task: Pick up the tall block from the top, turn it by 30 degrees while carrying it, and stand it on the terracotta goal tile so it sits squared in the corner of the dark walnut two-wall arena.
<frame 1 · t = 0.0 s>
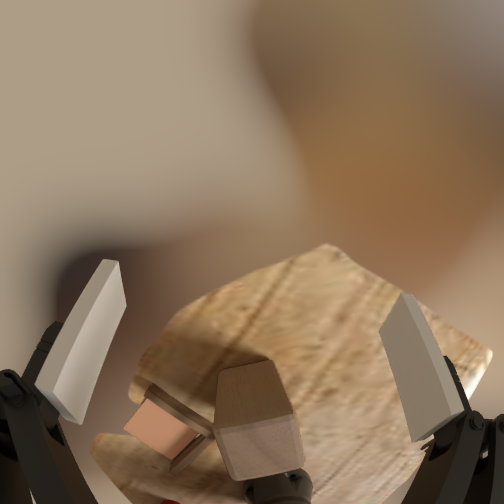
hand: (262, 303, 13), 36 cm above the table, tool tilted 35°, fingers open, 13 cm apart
goal tile: (161, 428, 47), on the table
block: (251, 386, 48), on the table
arena: (161, 428, 47), on the table
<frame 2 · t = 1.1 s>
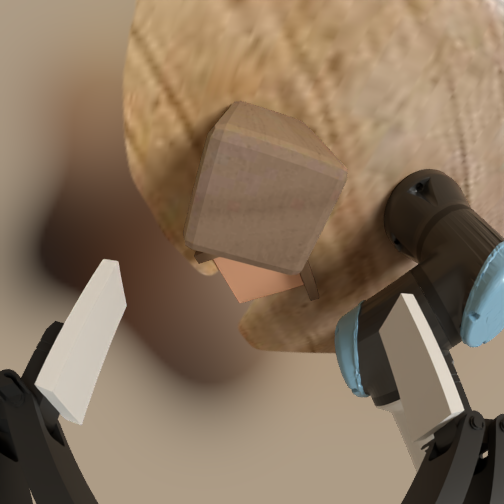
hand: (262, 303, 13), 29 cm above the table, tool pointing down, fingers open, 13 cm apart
goal tile: (258, 268, 48), on the table
block: (259, 144, 36), on the table
arena: (258, 268, 48), on the table
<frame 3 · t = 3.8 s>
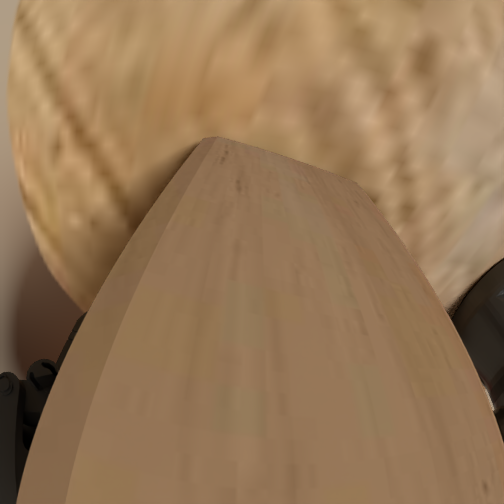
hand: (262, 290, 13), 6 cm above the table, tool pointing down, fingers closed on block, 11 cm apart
block: (261, 225, 18), on the table, touching gripper
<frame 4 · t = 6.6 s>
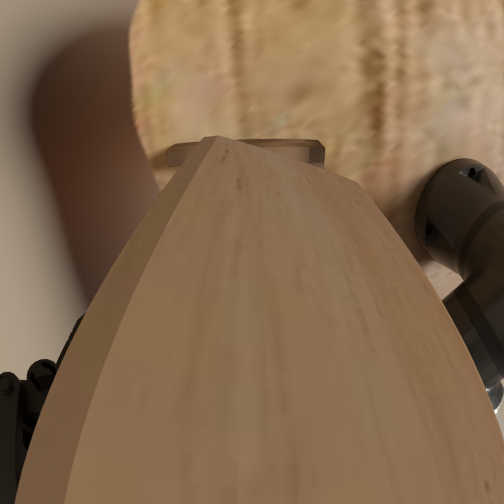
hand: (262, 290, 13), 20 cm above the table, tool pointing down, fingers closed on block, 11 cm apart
block: (261, 224, 18), point 14 cm above the table, touching gripper
arena: (244, 208, 33), on the table
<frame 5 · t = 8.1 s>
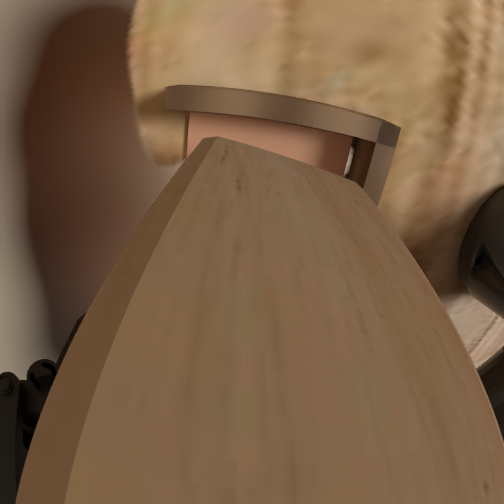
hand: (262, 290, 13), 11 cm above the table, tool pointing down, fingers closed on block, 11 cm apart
goal tile: (261, 194, 23), on the table
block: (261, 225, 18), point 5 cm above the table, touching gripper
arena: (261, 194, 23), on the table
when the fingers open (8 cm above the table, at t = 9.3 s): block drops 1 cm, resting on goal tile.
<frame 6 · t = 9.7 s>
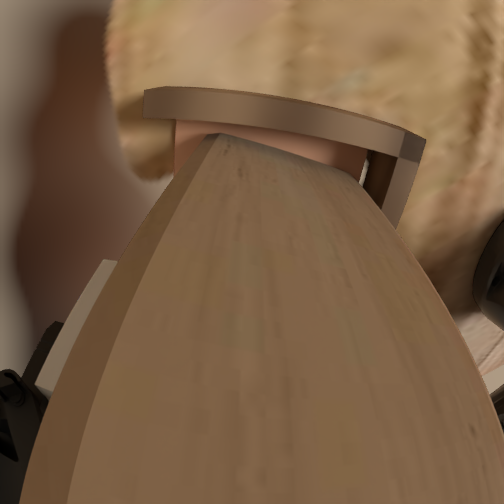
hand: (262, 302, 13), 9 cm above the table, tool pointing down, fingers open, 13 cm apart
goal tile: (260, 214, 20), on the table
block: (261, 215, 20), resting on goal tile
arena: (260, 214, 20), on the table
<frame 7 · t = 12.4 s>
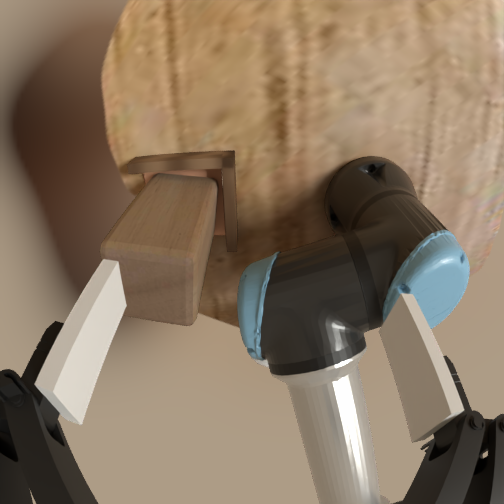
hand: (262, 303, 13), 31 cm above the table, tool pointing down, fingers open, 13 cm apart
goal tile: (185, 202, 44), on the table
block: (185, 202, 44), resting on goal tile
arena: (185, 202, 44), on the table
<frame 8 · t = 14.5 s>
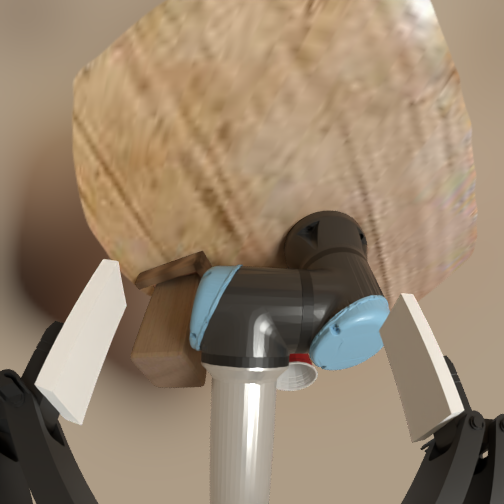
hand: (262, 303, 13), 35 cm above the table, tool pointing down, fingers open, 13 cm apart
block: (187, 292, 59), resting on goal tile
plastic cup: (289, 336, 67), on the table
arena: (187, 292, 59), on the table
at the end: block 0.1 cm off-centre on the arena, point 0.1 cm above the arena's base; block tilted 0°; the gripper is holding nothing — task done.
